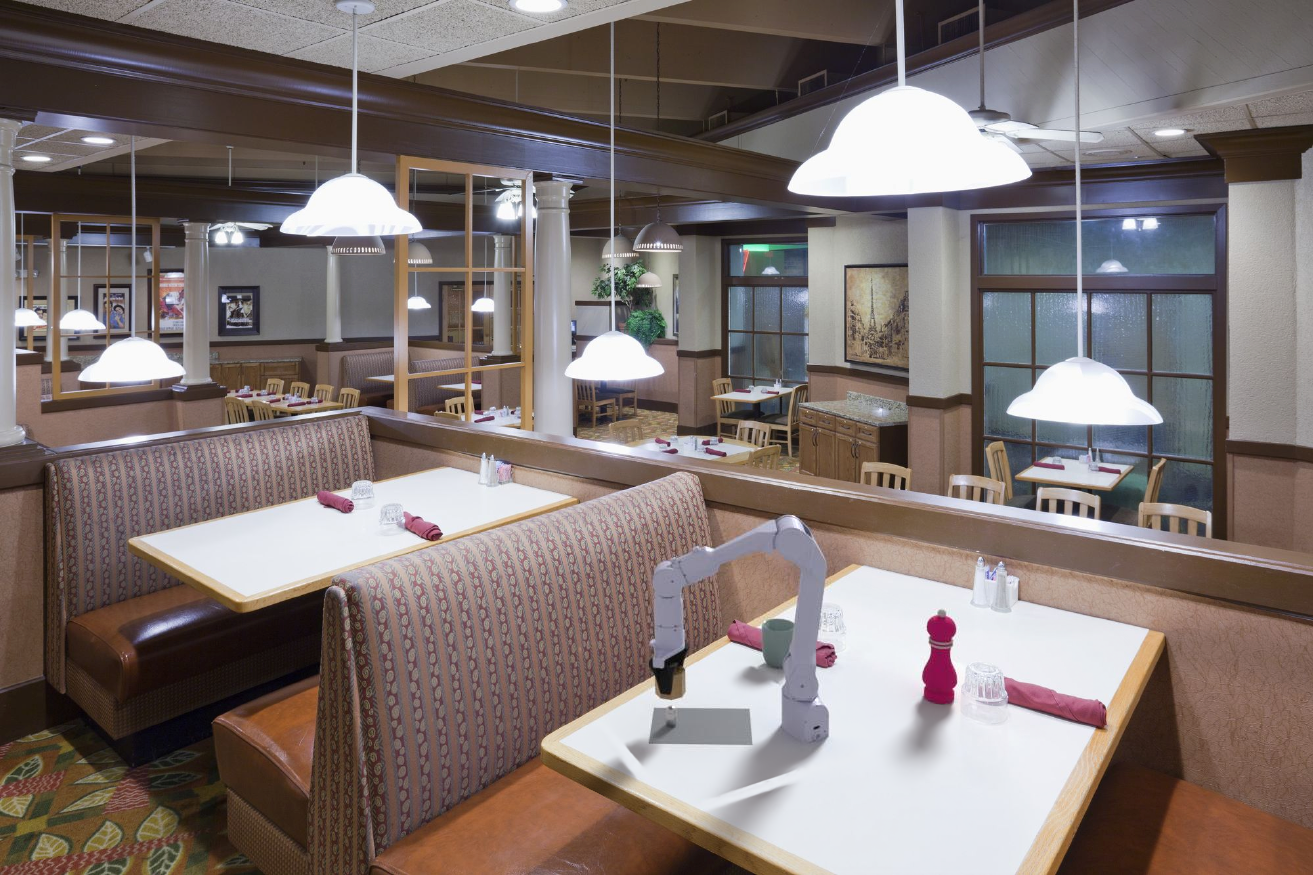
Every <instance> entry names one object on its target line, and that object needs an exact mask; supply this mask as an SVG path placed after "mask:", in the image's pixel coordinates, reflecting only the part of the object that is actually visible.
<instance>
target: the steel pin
mask: <svg viewBox="0 0 1313 875" xmlns="http://www.w3.org/2000/svg"><path fill="white" fill-rule="evenodd" d="M665 708H666V726H667V727H669V728H674V727H676V726H677V711H676V708H677V707H675V706H674V705H668V706H667V707H665Z"/></svg>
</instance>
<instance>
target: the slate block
mask: <svg viewBox="0 0 1313 875" xmlns="http://www.w3.org/2000/svg"><path fill="white" fill-rule="evenodd" d="M666 708H667V707H654V708H653V714H652V720H651V725H650V726H651V727H650V734H649V740H648V744H652V745H653V744H658V745H659V744H661V745H662V744H664V745H665V744H666V745H667V744H668V745H675V744H676V745H731V746H732V745H740V746H741V745H742V746H743V745H748V746H750V745H751V746H753V734H752V721H751V709H750V708H731V707H730V708H729V707H728V708H726V707H725V708H724V707H723V708H722V707H721V708H720V707H719V708H714V707H713V708H712V707H708V708H707V707H699V708H698V707H675V708H676V711H677V726H676V727H674V728H669V727H667V726H666Z"/></svg>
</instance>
